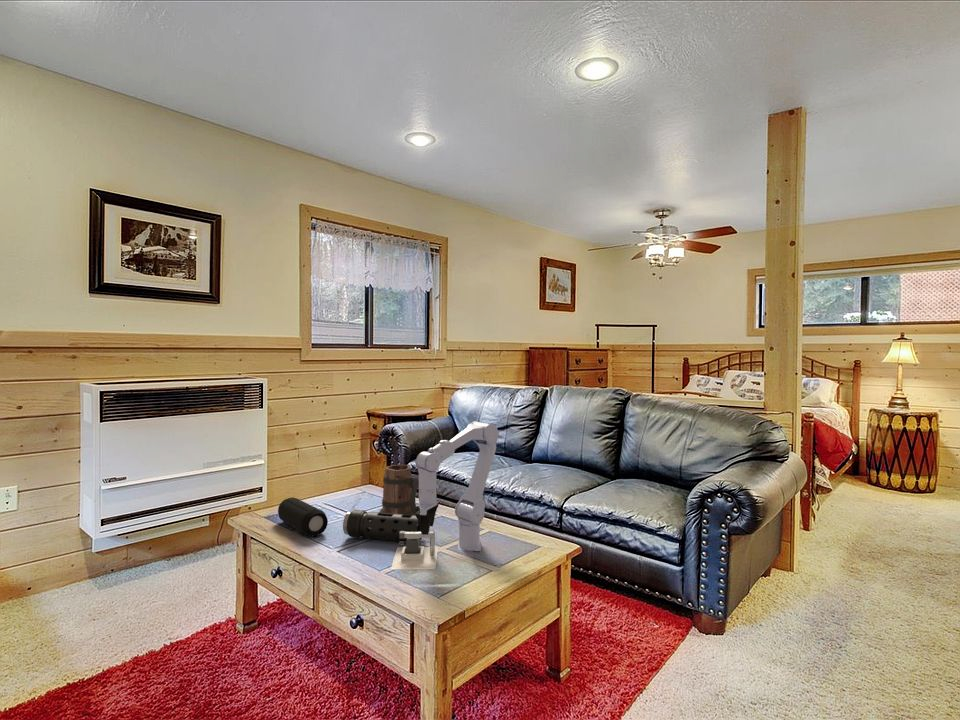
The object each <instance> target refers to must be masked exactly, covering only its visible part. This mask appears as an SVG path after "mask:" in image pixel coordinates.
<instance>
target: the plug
mask: <svg viewBox="0 0 960 720" xmlns="http://www.w3.org/2000/svg"><path fill="white" fill-rule="evenodd" d="M398 545H400V546H401V545H402V546H403V545H404V546H405V547H406V554H419V546H420V542H419V538H407V540H406V542H404V541H398Z"/></svg>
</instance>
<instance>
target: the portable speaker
mask: <svg viewBox="0 0 960 720" xmlns="http://www.w3.org/2000/svg"><path fill="white" fill-rule="evenodd" d="M277 513H278V514H277V515H278V517H279V519H280V520H281V521H282V522H283V523H286V525H289V526H290V527H292V528H293V529H295V530H298V531H299V532H301V533H302V534H304V535H306V536H308V537H315V536H316V537H317V536H320V535H321V534H323V533H324V532H325V531H326V529H327V527H328V523H329V520H328V516H327V515H326V512H324V510H322V509H319V508H317V507H315V506H313V505H311V504H309V503H307V502H305V501H303V500H300V499H299V498H297V497H294V496H293V497H288V498H285V499H283V500H282V501H281V502H280V504H279V505H278V508H277Z"/></svg>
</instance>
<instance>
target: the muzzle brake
mask: <svg viewBox="0 0 960 720" xmlns="http://www.w3.org/2000/svg"><path fill="white" fill-rule="evenodd" d="M379 512H380V511H379ZM379 512H376V511H369V512H367V511H366V510H363V509H362V510H361V509H354V510H351V511H347V512H346V514H345V516H344V517H343V521H342V532H343V533H344V535H346V536H349V537H350V538H359V539H360V538H363V539H369V540H370V539H371V540H372V539H373V540H374V539H376V540H386V541H393V542H394V541H395V542H405V543H406V540H407V538H404V539H399V533H400V531H405V532H421V529H420V524H419V521H418V519H417V517H416V515H405V514H392V513H379ZM422 539H423V538H419V543H420V542H421V541H422Z"/></svg>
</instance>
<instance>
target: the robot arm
mask: <svg viewBox="0 0 960 720" xmlns="http://www.w3.org/2000/svg"><path fill="white" fill-rule="evenodd" d="M499 436H500V432H499V430H498V428H497V426H496V425H495V424H493V423H486V422H480V421H477V420H474V421H472V422H471V423H468V424H467V426H466V428H465V429H463V430H461V431H460V432H459V433H457V434H456V435H455V436H454V437H453V438H451V439H450V440H448V439H443V440H442V439H441V440H440V441H439V443H438V444H435V446H433V447H430V448H428V450H427V451H421V452H420V453H419V454H418V455H417V456H416V459H415V461H414V462H415V463H414V464H415V466H416V467H417V473H418V480H419V486H418V500H415V505H416V506H419V508H420V512H419V511H418V512H416V517H417V519H418V521H419V524H420V529H421V533H422V534H424V535H428V533H429V532H430V528H431V527H433V526H434V524H435V523H434V522H435V518H436V513H437V510H438V507H439V506H440V504H439V503H438V501H437V471H438V469H439V468H440V466H441V464H442V463H443V462H444V461H446V460H447V459H449V458H450V457H452V456H453V455H454V454H455V451H456V450H457V449H458V448H460V447H462V446H464V445H466V443H468V442H470V441H474V442H475V444H476V445H477V446H478V449H479V452H478V455H477V459H476V462H475V466H474V468H473V472H472V475H471V477H470V481H469V483H468V484H469V485H468V487H467V491H466V492H465V493H464V494H462V495H461V496H460V498H459V501H458V502H457V503H456V505H455V507H454V514H455V516H456V517H457V520H458V521H459V523H458V525H459V526H458V540H457V551H472V552H481V551H482V546H481V545H482V544H481V540H480V539H481V538H480V536H481V535H480V531H481V529H480V528H481V525H480V524H482V521H483V520H484V518H485V507H486V502H485V501H484V499H483V494H484V490H485V489H486V488H485V487H486V484H487V480H488V477H489V474H490V471H491V467H492V463H493V461H494V457H495V455H496V450H497V442H498V438H499Z"/></svg>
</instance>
